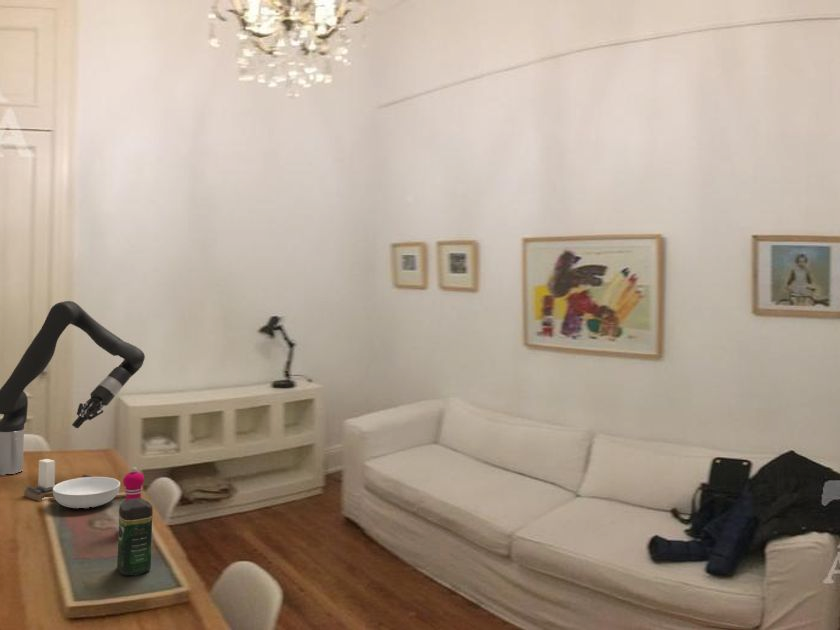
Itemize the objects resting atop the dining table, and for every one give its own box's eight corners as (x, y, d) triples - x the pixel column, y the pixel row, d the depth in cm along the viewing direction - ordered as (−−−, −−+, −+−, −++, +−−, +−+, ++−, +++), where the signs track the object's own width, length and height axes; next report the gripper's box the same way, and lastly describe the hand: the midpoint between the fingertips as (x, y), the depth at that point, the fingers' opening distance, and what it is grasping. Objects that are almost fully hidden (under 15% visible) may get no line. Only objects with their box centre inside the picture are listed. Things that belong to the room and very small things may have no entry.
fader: (47, 485, 232) (48, 458, 232) (57, 488, 229) (58, 460, 229) (35, 488, 228) (36, 460, 228) (44, 491, 225) (45, 463, 225)
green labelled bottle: (154, 572, 170) (156, 503, 169) (122, 579, 165) (124, 508, 164) (145, 559, 177) (147, 493, 177) (114, 566, 173) (116, 498, 172)
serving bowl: (50, 518, 207) (50, 497, 206) (53, 498, 225) (54, 479, 225) (120, 510, 216) (121, 490, 216) (118, 492, 235) (119, 474, 235)
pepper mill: (135, 536, 194) (137, 471, 194) (114, 533, 195) (116, 469, 195) (149, 528, 201) (151, 465, 201) (129, 525, 203) (131, 463, 202)
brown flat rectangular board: (83, 482, 246) (83, 473, 246) (99, 486, 241) (99, 478, 240) (24, 496, 227) (24, 487, 227) (39, 501, 222) (39, 492, 222)
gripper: (90, 382, 248) (57, 418, 237) (111, 386, 241) (78, 423, 231) (102, 394, 252) (71, 430, 242) (123, 398, 246) (91, 435, 235)
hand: (74, 426), depth 236 cm, fingers closed
